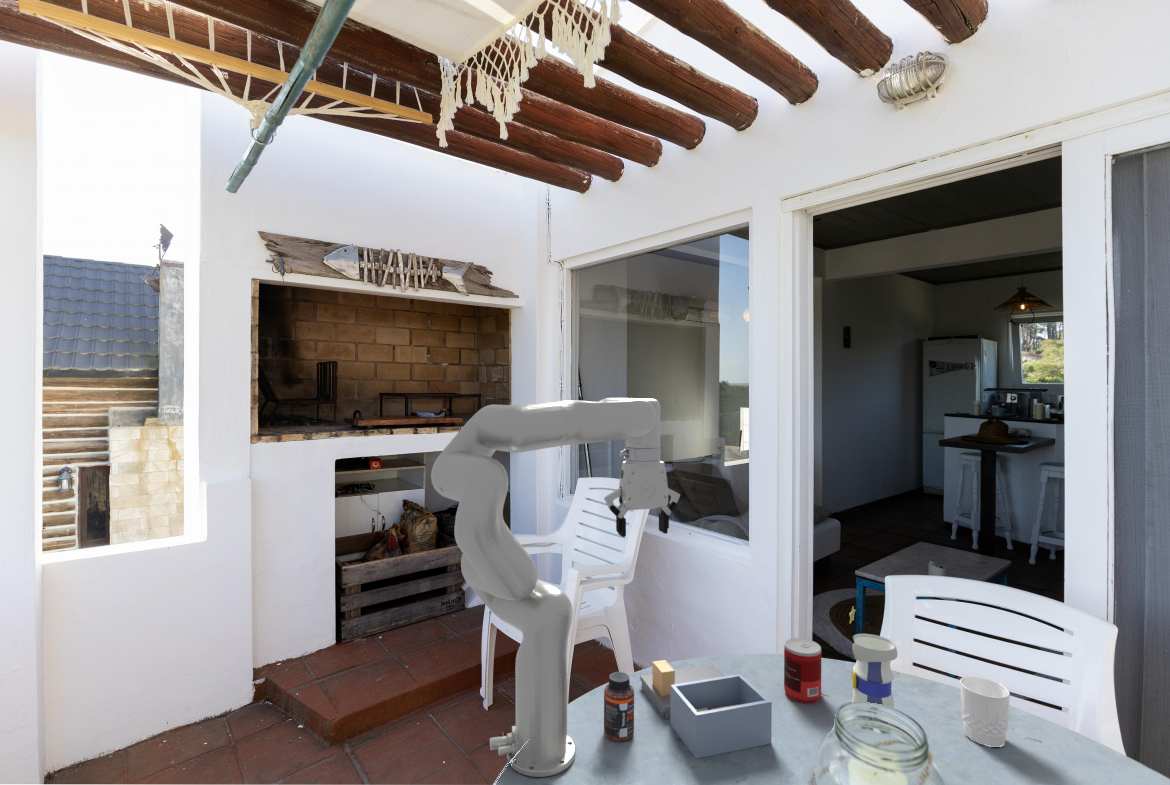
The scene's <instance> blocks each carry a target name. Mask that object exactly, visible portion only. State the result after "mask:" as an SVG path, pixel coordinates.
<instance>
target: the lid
mask: <svg viewBox="0 0 1170 785" xmlns="http://www.w3.org/2000/svg"><path fill="white" fill-rule="evenodd" d="M639 676H640V679H639V680H640V682H641V690H643V692H644V693H645V695H646V697H647V698H648V699H649V700H650V702H651V701H652V702H651V703H652V705H654V707H655V708H656V710H657V711H658V713H660V715H661V717H662V718H665V719H666V720H670V685H674V684H680V683H686V682H692V681H699V680H705V679H711V678H717V677H723V676H725V675H724V673H722V672H721V670H719V669H718V668H717V667H716V666H715V665H714V664H707V665H700V666H695V667H688V668H681V669H674V668H673V667H672V665H670V664H669V662H668V661H667V660H666V659H663V660H654V661H653V660H652V673H648V674H642V675H639Z"/></svg>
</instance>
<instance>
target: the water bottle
mask: <svg viewBox="0 0 1170 785" xmlns="http://www.w3.org/2000/svg"><path fill="white" fill-rule="evenodd" d="M854 607H855V606H852V607H851V611H850V612H849V617H850V618H849V624H850V625H851V624H852V621H854V620H855V613H856V611H857V610H856V609H854ZM852 639H853V642H854V643H852V654H853V656H854V659H855V660H856V662H855V663H854V666H853V667H852V668H853V669H852V671H851V673H852V674H851V677H852V678H851V679H852V684H851V685H852V689H853V691H852V703H853V702H870V703H877V704H882V705H885V706H889V707H892V708H894V709H895V698H894V695H893V693H892V681H893V680H894V679H895V675H894V673H893V672H892V669H891V661H892V662H893V661H894V660H896V659H897V657H898V650H897V646H896V644H895V642H894V641H892V640H890V639H889V638H887V637H884V636H880V635H877V634H869V633H858V634H856V633H855V634H854V635H853V636H852Z"/></svg>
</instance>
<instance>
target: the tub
mask: <svg viewBox="0 0 1170 785" xmlns="http://www.w3.org/2000/svg"><path fill="white" fill-rule="evenodd" d="M772 705H773V704H772V701H771V700H770V699H769V698H768V697H767V696H765V695H764V693H763V692H761V691H760V690H759V689H758V688H757V687H755V685H753V684H752V682H750V681H749V680H748V679H747V678H746V677H744V675H742V674H741V673H735V674H730V675H724V676H723V677H717V678H711V679H705V680H699V681H692V682H686V683H680V684H674V685H670V719H669V721H670V722H669V723H670V724H669V725H670V726H671V727H672V729H673V730H674V731H675V732H676V734H677V735H678V737H679V739H681V741H682V742H683V743H684V745H685V746H686V748H687V750H689V752H690V753H691V754H692V756H693V757H694V758H695V760H696V759H697V760H698V759H702V758H706V757H711V756H717V755H721V754H726V753H730V752H737V751H741V750H745V749H747V750H748V749H750V748H756V747H760V746H765V745H771V744H772V709H773V708H772Z"/></svg>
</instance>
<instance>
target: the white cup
mask: <svg viewBox="0 0 1170 785" xmlns="http://www.w3.org/2000/svg"><path fill="white" fill-rule="evenodd" d="M959 686H960V688H959V690H960V707H961V718H962V732H963V733H964V735H966V736H968V737H969V738H970V739H972V740H974V741H977V742H979V743H982V744H986V745H990V746H1000V745H1003V744H1005V745H1006V743H1005V742H1007V731H1008V722H1009V711H1010V708H1009V707H1010V695H1011V694H1010V690H1009V689H1008V688H1007V687H1005V686H1004V685H1002V684H1000V683H999V682H997V681H994V680H991V679H988V678H985V677H980V676H971V675H970V676H963V677H961V678H960V679H959ZM966 736H965V737H966ZM968 737H967V738H968ZM969 738H968V739H969ZM970 739H969V740H970ZM972 740H971V741H972ZM974 741H973V742H974Z"/></svg>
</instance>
